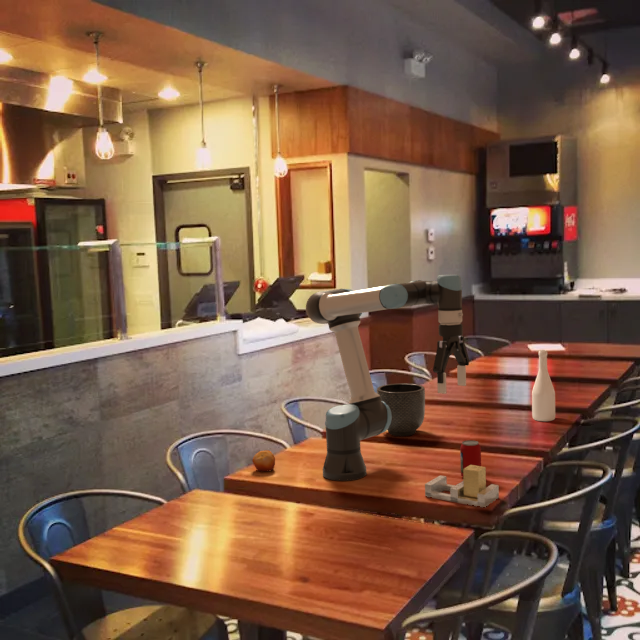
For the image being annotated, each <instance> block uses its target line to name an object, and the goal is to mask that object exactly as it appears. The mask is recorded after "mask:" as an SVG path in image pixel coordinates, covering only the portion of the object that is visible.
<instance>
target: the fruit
mask: <svg viewBox="0 0 640 640" xmlns="http://www.w3.org/2000/svg"><path fill="white" fill-rule="evenodd" d="M252 464H253V466H254V467H255V469H256V471H258V472H271V471H272V470H273V469H274V468H275V465H276V456H275V455H274V453H273V452H272V451H270V450H268V449H265V450H261V451H260V450H259V451H258V452H257V453H255V454H254V456H253V457H252Z"/></svg>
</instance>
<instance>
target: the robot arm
mask: <svg viewBox="0 0 640 640" xmlns="http://www.w3.org/2000/svg"><path fill="white" fill-rule="evenodd" d="M462 285H463V284H462V277H461V276H460V275H459V274H456V273H455V274H439V275H437V280H422V279H421V280H420V279H419V280H412V281H409V282H403V283H402V282H401V283H391V284H386V285H383V286H381V285H380V286H376V287H371V288H364V289H357V290H353V289H350V288H338V289H337V288H336V289H331V290H322V291H318V292H315V293H313V294H311V295H310V296H309V298H308V299H307V301H306V304H305V312H306V314H307V316H308V318H309V319H310V321H312V322H314V323H316V324H319V325H325V324H328V329H329V330H330V331H331V332H332V333H334V334H335V340H336V344H337V348H338V351H339V355H340V359H341V363H342V366H343V369H344V374H345V378H346V382H347V387H348V390H349V394H350V400H349V401H348V404H341V405H336V406H332V407H331V408H330V409H328V410H327V411H326V413H325V422H324V425H325V439H326V457H325V460H324V461H323V462H324V463H323V467H322V477H324V478H325V479H328V480H329V481H330V480H331V481H339V482H343V481H344V482H346V481H348V482H349V481H355V480H359V479H362V478H364V477H366V476H367V466H366V463H365V461H364V458H363V454H362V450H361V441H362V440H366V439H369V438H373V437H376V436H379V435H381V434H384V433H385V432H386V431H388V430H387V429H388V428H389V426H390V424H391V419H392V415H391V410H390V408H389V406H388V405H386V403H385V402H383V401H381V398H380V395H379V394H377V392H376V391H375V388H374V385H373V381H372V378H371V377H372V376H371V374H370V373H371V372H370V370H369V369H370V368H369V365H368V362H367V358H366V353H365V350H364V346H363V342H362V338H361V335H360V331H359V325H360V324H361V318H360V317H361V316H362V314H363V313H371V312H377V311H383V310H392V309H393V310H395V309H400V308H406V307H413V306H420V305H437V311H438V312H437V313H438V317H437V318H438V319H437V320H438V323H440V324H439V325H438V336H440V337H442V340H438V341H437V344H436V346H437V347H436V352H435V357H434V362H433V368H432V372H433V373H435V374H437V375H436V381H437V394H444V395H446V394H447V373H446V372H445V371H446V368H447V365H448V362H449V360H450V357H451V356H452V355H453V356H454V358H455V361H456V362H457V364H458V365H457V366H456V373H457V374H456V375H457V386H461V387H466V386H467V368H466V367H467V366H469V365H470V358H469V353H468V351H467V347H466V343H465V336H464V335H463V334H464V333H463V332H464V329H463V328H464V326H463V324H462V322H463V316H464V313H463V306H462V305H463V287H462Z"/></svg>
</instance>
